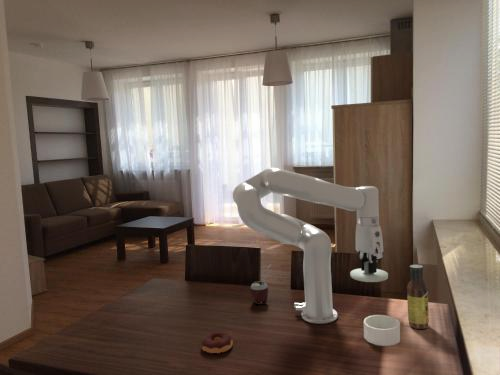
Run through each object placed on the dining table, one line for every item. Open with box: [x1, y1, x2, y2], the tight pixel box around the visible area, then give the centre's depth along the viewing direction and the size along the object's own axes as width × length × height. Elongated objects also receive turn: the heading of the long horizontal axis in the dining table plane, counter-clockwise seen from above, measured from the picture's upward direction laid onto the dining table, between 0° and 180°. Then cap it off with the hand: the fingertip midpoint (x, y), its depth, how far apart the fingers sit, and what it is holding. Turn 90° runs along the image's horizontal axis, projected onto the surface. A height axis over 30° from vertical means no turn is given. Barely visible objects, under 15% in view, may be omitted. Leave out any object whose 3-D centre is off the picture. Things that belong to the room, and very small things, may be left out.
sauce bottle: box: [406, 264, 430, 330], centre depth 133 cm, size 7×6×20 cm
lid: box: [349, 261, 389, 283], centre depth 147 cm, size 13×13×5 cm
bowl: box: [363, 314, 401, 347], centre depth 127 cm, size 11×11×5 cm
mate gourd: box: [249, 264, 272, 305], centre depth 162 cm, size 8×8×15 cm
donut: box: [201, 331, 234, 354], centre depth 128 cm, size 10×10×4 cm
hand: (368, 270), depth 147 cm, fingers closed on lid, 3 cm apart
